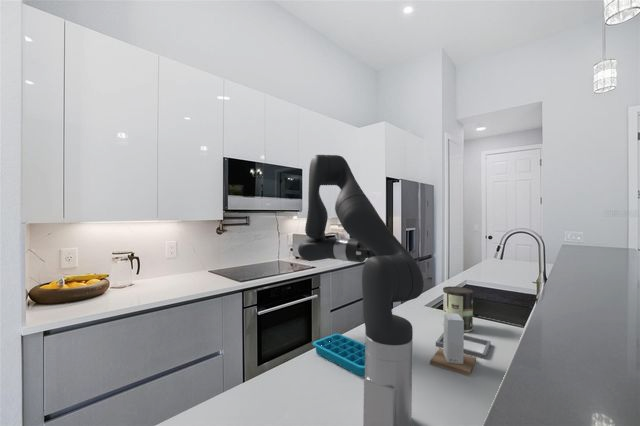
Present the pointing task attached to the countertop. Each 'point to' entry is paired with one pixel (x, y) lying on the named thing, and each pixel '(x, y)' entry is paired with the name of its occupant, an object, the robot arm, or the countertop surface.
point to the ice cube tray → (343, 352)
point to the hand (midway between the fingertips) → (397, 253)
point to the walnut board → (459, 368)
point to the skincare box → (453, 338)
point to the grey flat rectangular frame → (466, 351)
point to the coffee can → (459, 304)
